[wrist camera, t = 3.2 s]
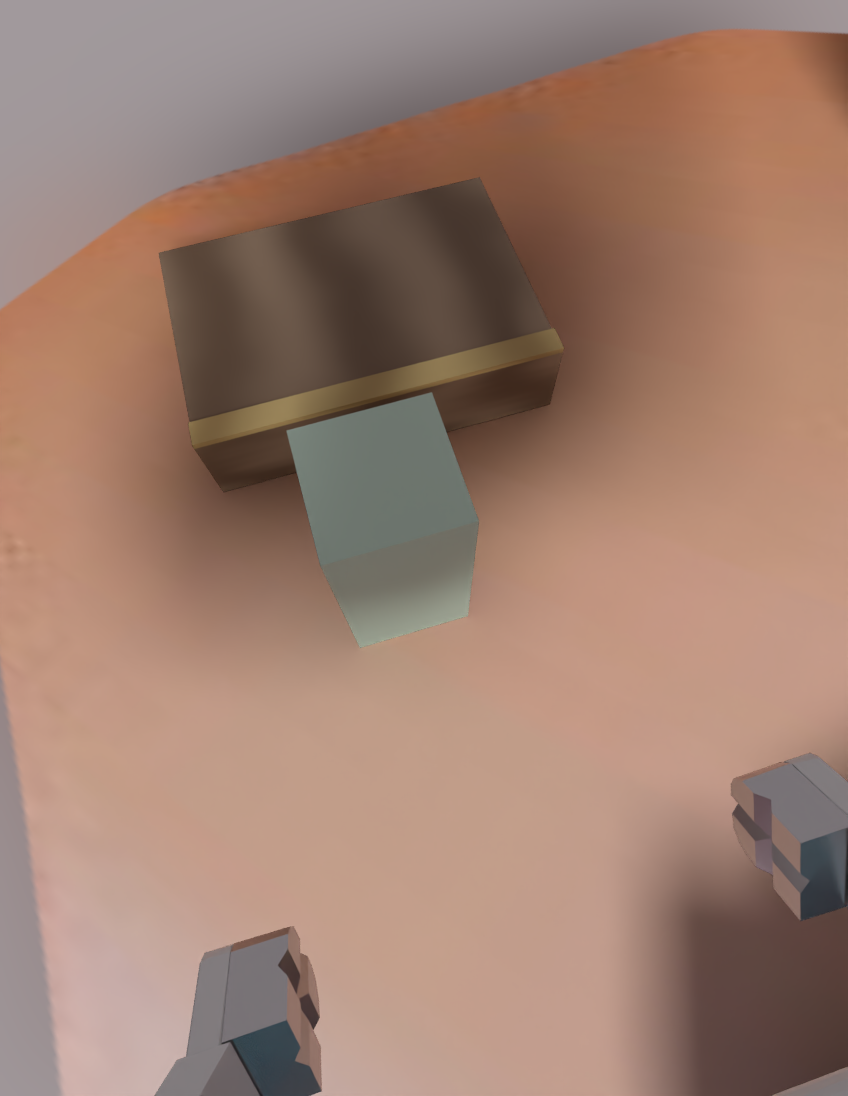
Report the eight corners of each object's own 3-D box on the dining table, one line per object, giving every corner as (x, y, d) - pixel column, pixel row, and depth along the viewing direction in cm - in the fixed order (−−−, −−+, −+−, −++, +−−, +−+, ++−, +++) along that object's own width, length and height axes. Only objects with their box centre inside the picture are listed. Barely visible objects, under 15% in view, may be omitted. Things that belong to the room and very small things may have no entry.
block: (435, 519, 31) (431, 392, 22) (467, 616, 29) (479, 521, 20) (333, 548, 31) (286, 430, 21) (359, 647, 29) (320, 566, 19)
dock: (476, 240, 38) (479, 172, 34) (549, 404, 33) (564, 347, 29) (187, 310, 36) (156, 248, 32) (223, 492, 32) (192, 445, 28)
